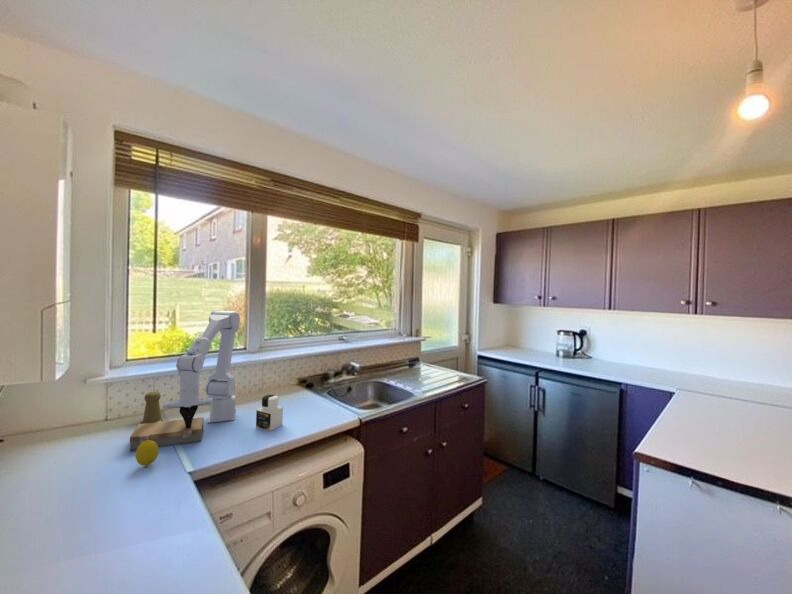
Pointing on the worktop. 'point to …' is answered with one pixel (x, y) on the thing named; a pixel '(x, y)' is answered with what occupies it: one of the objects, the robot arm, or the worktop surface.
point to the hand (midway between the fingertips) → (188, 427)
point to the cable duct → (171, 440)
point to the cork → (152, 408)
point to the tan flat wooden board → (166, 429)
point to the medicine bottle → (269, 413)
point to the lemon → (147, 452)
